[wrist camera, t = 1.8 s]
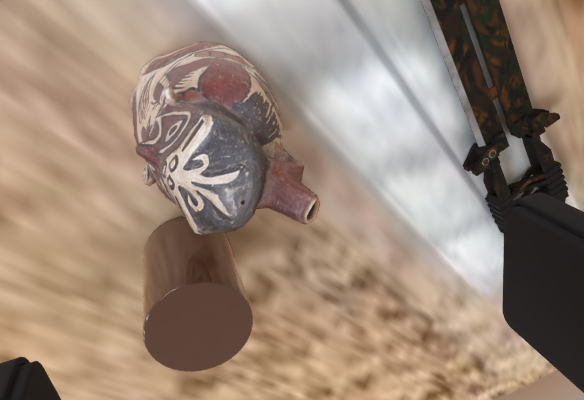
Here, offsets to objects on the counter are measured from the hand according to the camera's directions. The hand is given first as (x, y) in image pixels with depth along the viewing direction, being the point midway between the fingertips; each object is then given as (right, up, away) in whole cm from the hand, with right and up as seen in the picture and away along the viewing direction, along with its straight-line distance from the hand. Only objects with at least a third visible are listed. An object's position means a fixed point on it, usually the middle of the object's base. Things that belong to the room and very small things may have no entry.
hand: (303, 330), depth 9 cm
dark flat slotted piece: (+12, +9, +20) cm, 25 cm away
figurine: (-5, +7, +16) cm, 18 cm away
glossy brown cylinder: (-6, -1, +18) cm, 20 cm away
